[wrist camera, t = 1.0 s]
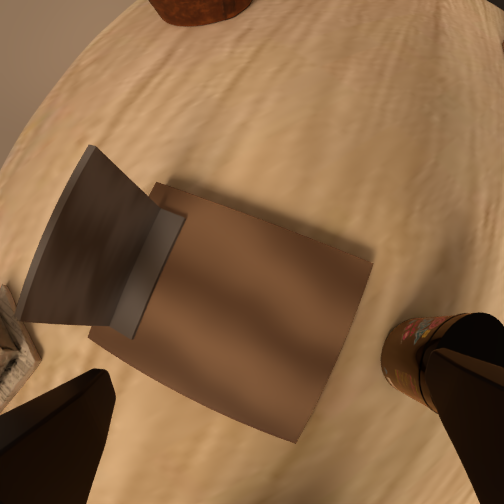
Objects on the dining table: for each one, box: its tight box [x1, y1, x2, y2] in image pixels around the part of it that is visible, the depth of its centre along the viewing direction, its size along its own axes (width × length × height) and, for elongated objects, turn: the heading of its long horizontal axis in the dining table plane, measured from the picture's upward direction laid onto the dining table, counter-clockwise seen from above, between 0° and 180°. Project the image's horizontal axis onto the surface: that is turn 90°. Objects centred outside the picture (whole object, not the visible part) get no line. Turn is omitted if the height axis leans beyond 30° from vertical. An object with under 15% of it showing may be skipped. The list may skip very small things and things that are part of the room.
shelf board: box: [14, 145, 373, 444], centre depth 17 cm, size 14×18×12 cm
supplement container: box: [381, 312, 504, 414], centre depth 16 cm, size 6×6×9 cm
